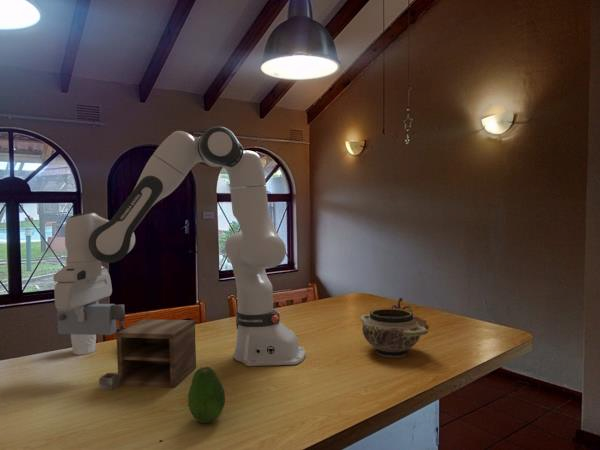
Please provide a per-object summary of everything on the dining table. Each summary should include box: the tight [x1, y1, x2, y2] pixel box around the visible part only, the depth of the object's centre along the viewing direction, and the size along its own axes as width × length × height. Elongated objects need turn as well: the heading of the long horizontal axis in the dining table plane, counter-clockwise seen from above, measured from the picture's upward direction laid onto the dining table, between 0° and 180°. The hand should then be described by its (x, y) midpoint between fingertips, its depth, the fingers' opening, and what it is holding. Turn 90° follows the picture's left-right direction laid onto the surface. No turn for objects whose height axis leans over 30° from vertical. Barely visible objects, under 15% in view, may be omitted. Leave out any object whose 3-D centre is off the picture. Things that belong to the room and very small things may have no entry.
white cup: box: [70, 334, 97, 356], centre depth 143 cm, size 8×8×10 cm
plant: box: [390, 297, 427, 329], centre depth 165 cm, size 20×20×11 cm
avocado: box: [187, 366, 226, 424], centre depth 94 cm, size 8×8×12 cm
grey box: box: [56, 303, 126, 336], centre depth 122 cm, size 20×4×8 cm, turn 81°
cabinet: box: [98, 318, 197, 391], centre depth 119 cm, size 19×17×14 cm
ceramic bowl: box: [359, 307, 429, 358], centre depth 136 cm, size 24×18×15 cm
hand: (87, 318), depth 123 cm, fingers closed on grey box, 3 cm apart
